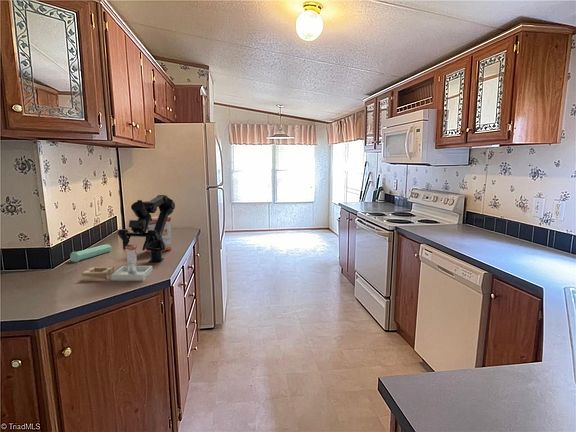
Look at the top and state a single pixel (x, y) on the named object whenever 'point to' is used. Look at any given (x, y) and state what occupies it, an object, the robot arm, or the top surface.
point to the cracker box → (166, 232)
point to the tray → (124, 276)
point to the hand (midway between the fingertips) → (133, 250)
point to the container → (89, 253)
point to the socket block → (97, 274)
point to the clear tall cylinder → (131, 259)
